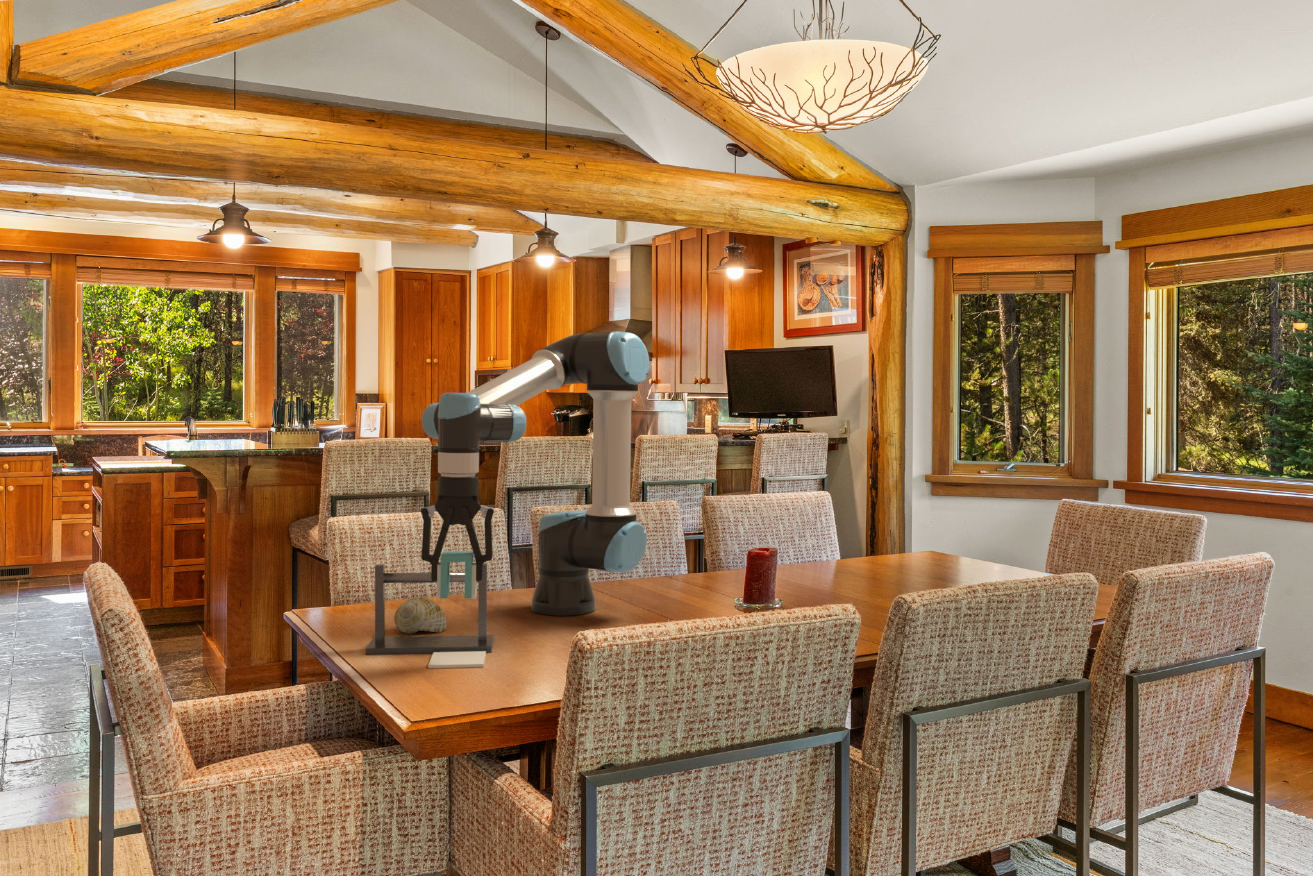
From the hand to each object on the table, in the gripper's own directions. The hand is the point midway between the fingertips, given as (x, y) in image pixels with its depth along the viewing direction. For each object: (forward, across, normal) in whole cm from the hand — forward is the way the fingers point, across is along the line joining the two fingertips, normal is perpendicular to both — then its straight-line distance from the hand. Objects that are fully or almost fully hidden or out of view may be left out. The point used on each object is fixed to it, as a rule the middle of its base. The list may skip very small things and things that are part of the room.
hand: (456, 597), depth 183 cm
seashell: (+12, +10, -25) cm, 29 cm away
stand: (+12, +6, -11) cm, 17 cm away
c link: (0, 0, 0) cm, 0 cm away
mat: (+12, 0, 0) cm, 12 cm away
